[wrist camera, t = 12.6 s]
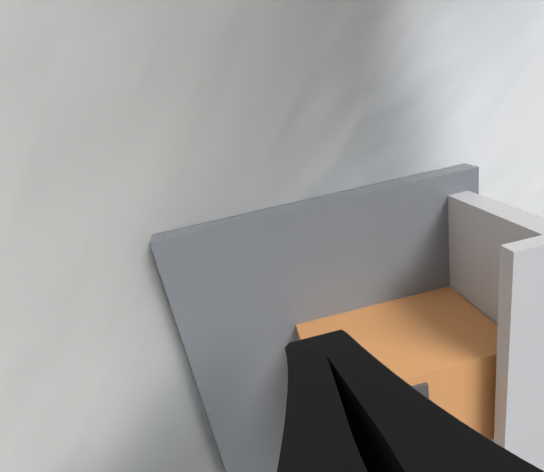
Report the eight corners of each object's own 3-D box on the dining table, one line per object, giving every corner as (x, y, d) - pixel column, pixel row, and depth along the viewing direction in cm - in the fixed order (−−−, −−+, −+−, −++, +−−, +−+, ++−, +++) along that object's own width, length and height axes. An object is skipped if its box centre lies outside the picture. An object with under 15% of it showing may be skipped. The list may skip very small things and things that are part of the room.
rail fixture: (464, 163, 18) (606, 200, 12) (466, 478, 26) (550, 604, 20) (152, 234, 17) (115, 318, 11) (253, 540, 25) (267, 695, 19)
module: (448, 286, 19) (527, 348, 14) (450, 357, 21) (521, 434, 16) (295, 324, 19) (324, 403, 14) (309, 394, 20) (339, 486, 16)
